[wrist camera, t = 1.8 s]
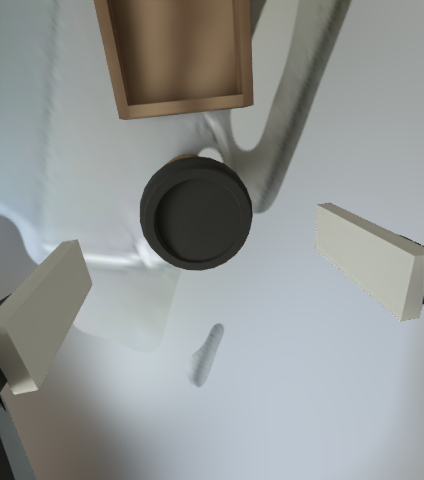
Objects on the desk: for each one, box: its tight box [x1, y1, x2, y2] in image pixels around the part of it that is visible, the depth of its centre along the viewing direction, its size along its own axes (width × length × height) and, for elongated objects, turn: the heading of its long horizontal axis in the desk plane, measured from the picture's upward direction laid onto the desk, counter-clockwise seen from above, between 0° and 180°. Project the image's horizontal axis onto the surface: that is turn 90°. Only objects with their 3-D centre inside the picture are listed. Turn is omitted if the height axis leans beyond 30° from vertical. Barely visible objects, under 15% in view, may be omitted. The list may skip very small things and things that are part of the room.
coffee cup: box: [140, 155, 253, 270], centre depth 25 cm, size 8×8×15 cm
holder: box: [94, 0, 253, 120], centre depth 25 cm, size 13×13×4 cm
